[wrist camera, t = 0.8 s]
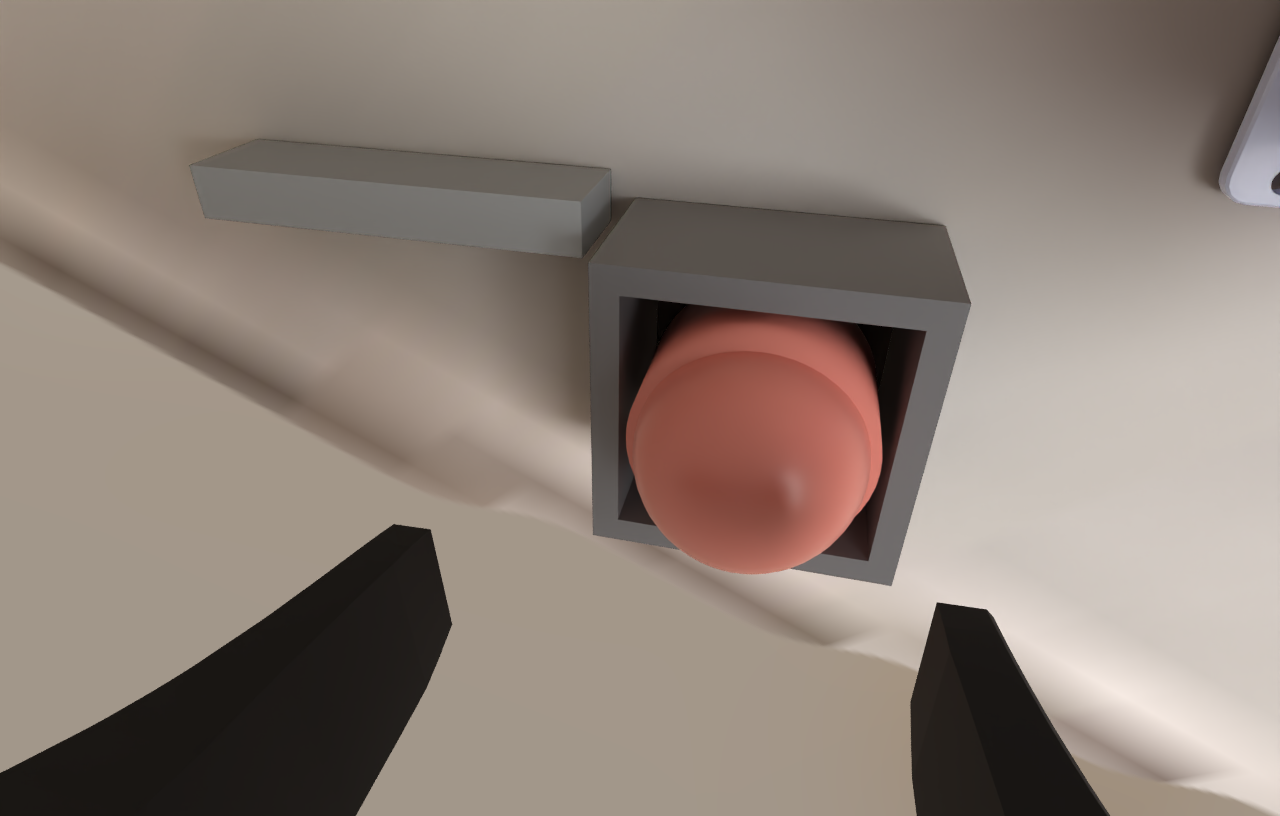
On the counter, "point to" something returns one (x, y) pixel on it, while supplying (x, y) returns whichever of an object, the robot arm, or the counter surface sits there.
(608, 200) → the bar
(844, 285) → the dome housing
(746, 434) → the dome
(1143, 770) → the counter surface
